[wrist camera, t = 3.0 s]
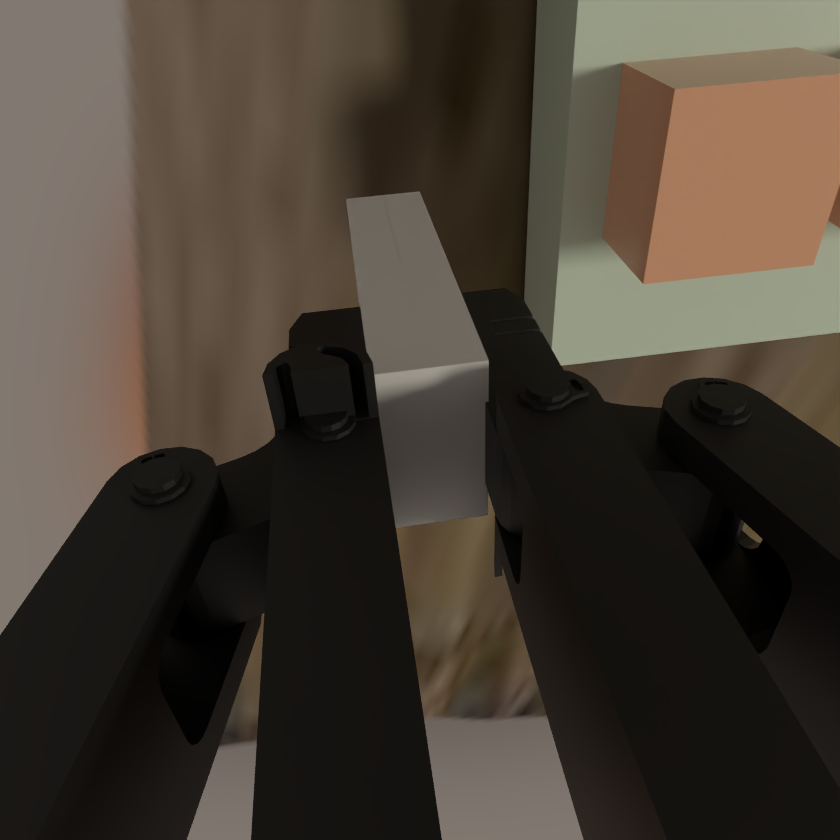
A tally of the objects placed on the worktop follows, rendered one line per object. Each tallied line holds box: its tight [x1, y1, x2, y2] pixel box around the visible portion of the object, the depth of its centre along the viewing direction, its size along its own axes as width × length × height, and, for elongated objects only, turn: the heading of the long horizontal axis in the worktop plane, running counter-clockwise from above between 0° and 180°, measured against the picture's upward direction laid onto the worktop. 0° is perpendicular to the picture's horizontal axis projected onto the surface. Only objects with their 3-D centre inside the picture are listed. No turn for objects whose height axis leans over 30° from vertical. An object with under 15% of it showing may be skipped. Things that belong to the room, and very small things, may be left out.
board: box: [524, 0, 840, 366], centre depth 20 cm, size 13×16×4 cm
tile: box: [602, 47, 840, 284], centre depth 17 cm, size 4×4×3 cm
